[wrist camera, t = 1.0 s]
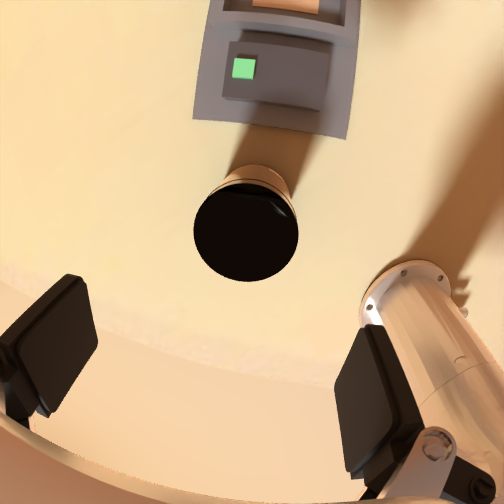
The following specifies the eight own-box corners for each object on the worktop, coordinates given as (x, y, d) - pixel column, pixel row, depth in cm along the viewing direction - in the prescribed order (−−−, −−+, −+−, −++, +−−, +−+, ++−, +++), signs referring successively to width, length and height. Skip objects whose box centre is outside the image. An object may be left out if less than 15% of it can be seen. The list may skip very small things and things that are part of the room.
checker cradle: (359, -40, 16) (370, -60, 12) (343, 139, 25) (356, 141, 21) (226, -58, 16) (219, -79, 12) (195, 119, 25) (180, 118, 21)
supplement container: (206, 201, 28) (173, 240, 19) (249, 148, 26) (236, 159, 16) (258, 242, 30) (252, 299, 20) (303, 193, 27) (321, 230, 18)
